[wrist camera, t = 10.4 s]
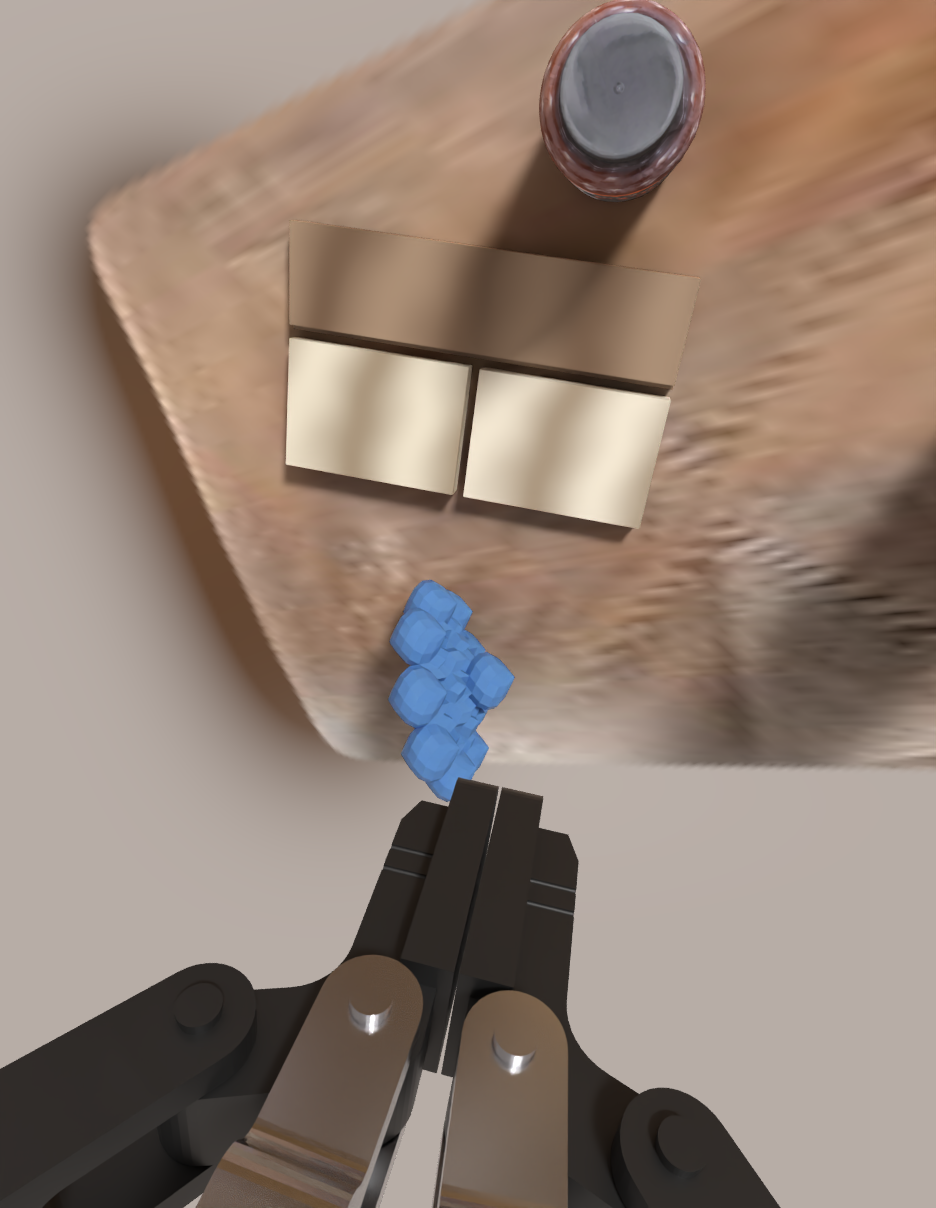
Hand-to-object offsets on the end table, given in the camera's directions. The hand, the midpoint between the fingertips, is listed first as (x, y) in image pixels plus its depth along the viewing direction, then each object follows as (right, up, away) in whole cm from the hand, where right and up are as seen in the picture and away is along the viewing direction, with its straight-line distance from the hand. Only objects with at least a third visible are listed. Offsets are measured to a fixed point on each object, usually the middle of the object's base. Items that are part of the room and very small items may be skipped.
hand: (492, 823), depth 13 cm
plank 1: (-5, +15, +29) cm, 33 cm away
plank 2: (+5, +13, +28) cm, 31 cm away
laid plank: (+1, +20, +25) cm, 32 cm away
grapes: (0, +2, +35) cm, 35 cm away
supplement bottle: (+7, +26, +21) cm, 34 cm away
